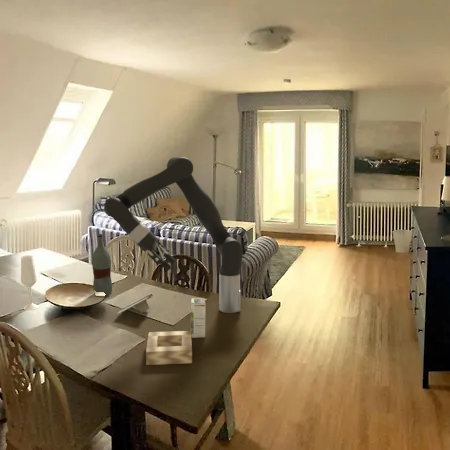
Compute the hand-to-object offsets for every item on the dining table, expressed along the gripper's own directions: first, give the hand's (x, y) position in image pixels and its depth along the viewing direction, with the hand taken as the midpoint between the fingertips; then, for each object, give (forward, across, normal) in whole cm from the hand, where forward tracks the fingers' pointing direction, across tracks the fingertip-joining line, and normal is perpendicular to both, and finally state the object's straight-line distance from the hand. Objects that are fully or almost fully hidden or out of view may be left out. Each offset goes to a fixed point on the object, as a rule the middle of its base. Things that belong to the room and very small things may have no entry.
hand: (171, 265), depth 195 cm
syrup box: (+27, -4, +11) cm, 30 cm away
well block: (+21, -21, +17) cm, 34 cm away
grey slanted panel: (+6, +16, +34) cm, 38 cm away
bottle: (-10, +37, +49) cm, 62 cm away
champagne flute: (-29, +17, +68) cm, 76 cm away
